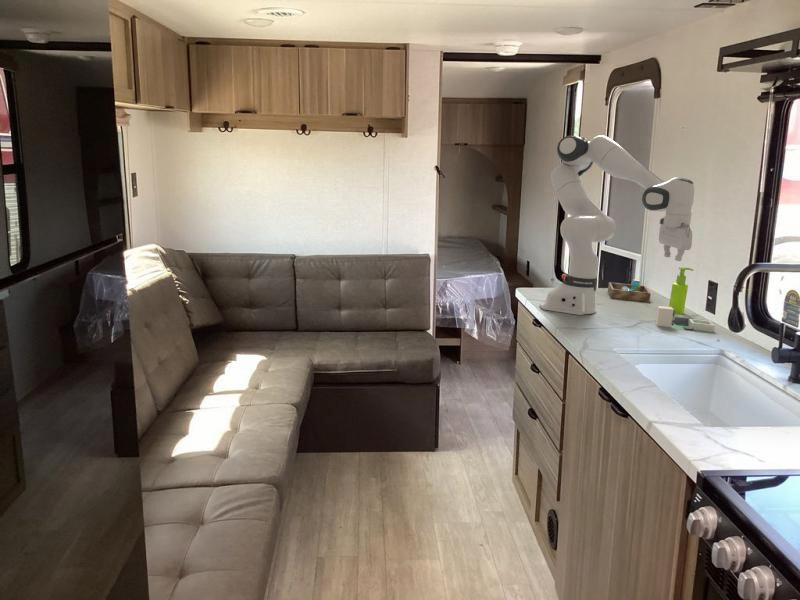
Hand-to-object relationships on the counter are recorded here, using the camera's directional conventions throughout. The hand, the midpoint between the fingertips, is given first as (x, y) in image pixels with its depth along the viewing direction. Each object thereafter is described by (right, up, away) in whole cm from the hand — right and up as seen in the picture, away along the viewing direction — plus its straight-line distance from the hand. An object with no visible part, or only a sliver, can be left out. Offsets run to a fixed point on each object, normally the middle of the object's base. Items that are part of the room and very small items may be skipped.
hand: (672, 258), depth 243 cm
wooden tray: (+3, -14, +55) cm, 57 cm away
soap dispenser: (+12, -22, +24) cm, 34 cm away
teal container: (+4, -14, +55) cm, 57 cm away
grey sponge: (+5, -24, +5) cm, 25 cm away
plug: (-3, -26, +2) cm, 26 cm away
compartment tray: (+8, -27, +2) cm, 28 cm away
